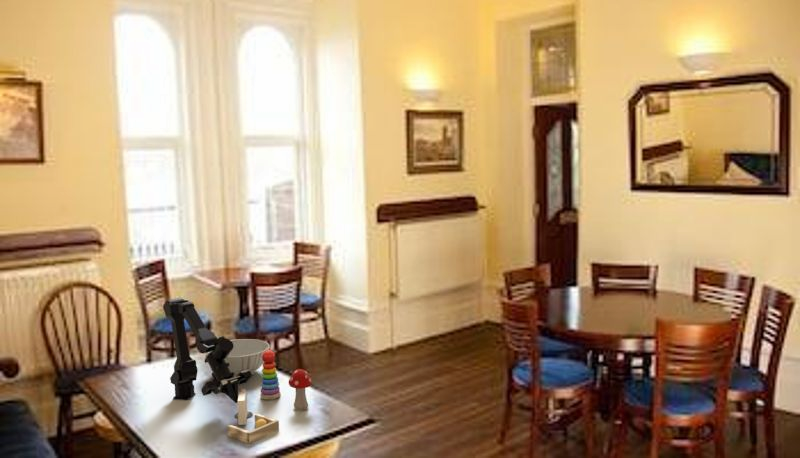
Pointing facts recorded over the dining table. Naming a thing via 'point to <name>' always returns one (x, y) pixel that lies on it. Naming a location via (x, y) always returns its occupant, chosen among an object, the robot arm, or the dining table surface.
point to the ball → (260, 423)
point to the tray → (256, 433)
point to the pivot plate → (247, 414)
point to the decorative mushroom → (300, 388)
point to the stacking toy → (269, 377)
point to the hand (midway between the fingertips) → (237, 402)
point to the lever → (242, 407)
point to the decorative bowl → (246, 355)
